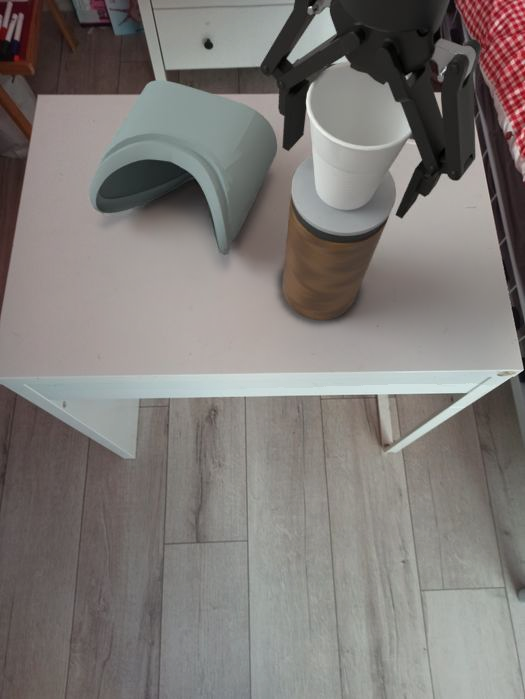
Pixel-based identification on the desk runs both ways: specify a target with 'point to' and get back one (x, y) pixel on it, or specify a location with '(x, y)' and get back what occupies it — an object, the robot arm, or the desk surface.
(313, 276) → the plinth
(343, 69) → the cup
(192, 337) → the desk surface
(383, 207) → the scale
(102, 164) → the sage-green arched shell
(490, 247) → the desk surface
